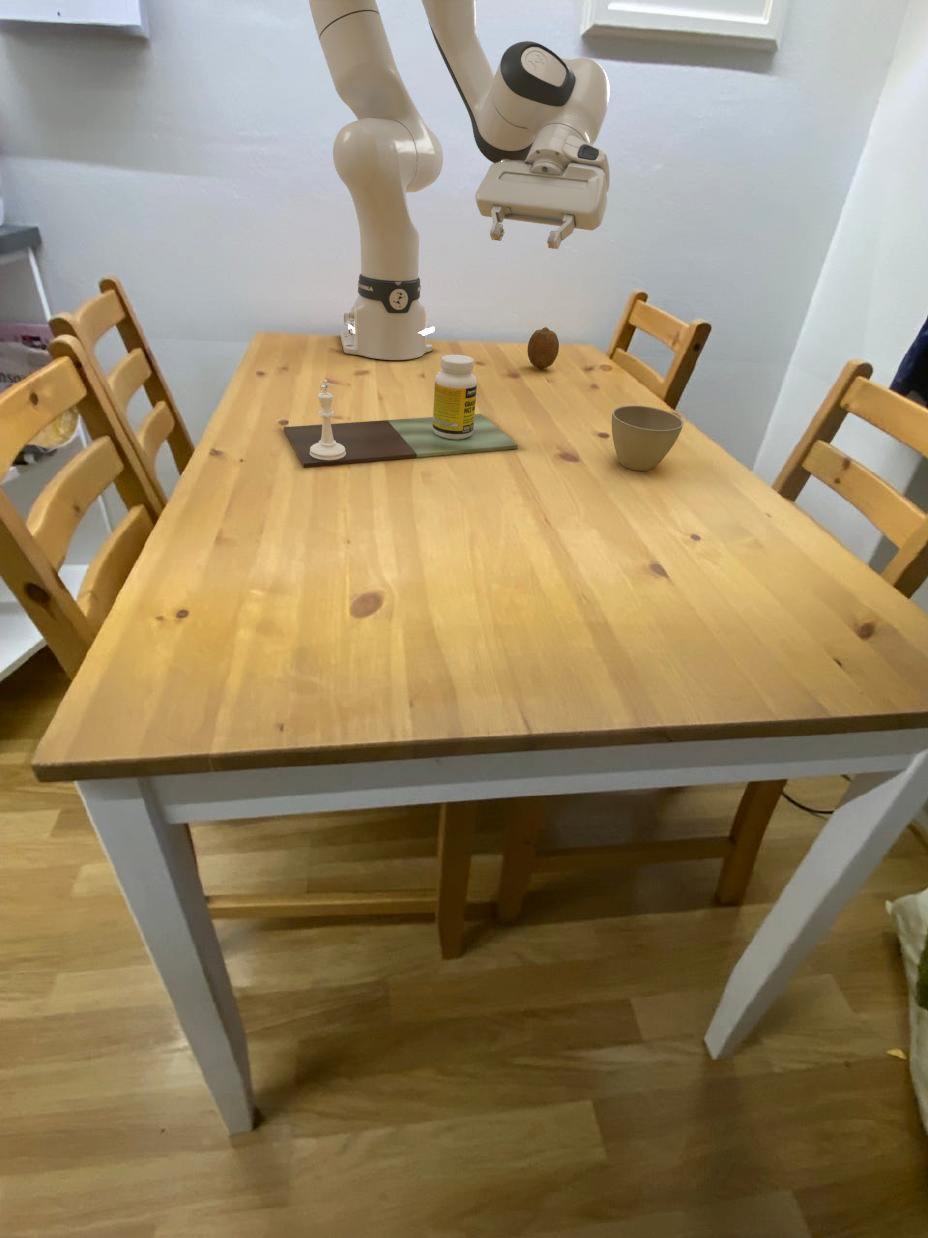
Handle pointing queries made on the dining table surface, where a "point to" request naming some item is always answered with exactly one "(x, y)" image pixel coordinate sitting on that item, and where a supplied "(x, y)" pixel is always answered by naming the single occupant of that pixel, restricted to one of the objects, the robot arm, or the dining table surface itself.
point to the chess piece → (326, 430)
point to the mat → (395, 440)
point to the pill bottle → (454, 398)
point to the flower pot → (643, 435)
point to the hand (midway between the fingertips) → (523, 241)
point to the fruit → (543, 348)
